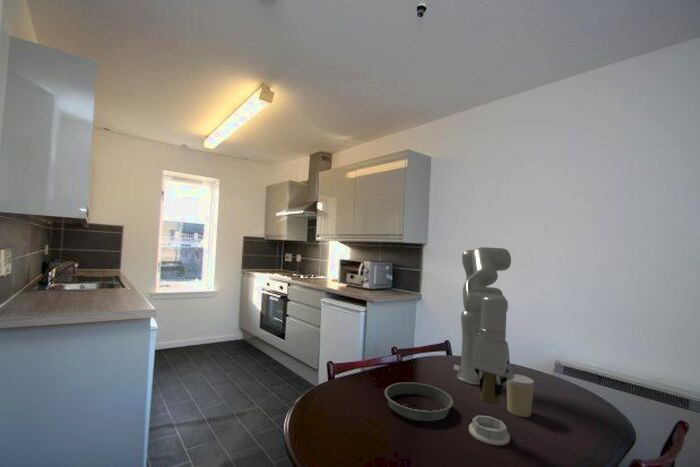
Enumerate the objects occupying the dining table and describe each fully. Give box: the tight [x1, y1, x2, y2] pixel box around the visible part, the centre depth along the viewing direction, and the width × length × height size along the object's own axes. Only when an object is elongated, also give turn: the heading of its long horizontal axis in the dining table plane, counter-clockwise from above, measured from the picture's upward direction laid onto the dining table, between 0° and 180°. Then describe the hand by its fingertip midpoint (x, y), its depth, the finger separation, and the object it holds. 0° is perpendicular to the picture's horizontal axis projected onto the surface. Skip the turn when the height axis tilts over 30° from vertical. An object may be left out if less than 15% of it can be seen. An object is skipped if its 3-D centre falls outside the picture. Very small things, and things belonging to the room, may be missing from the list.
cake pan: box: [384, 381, 454, 421], centre depth 122 cm, size 25×25×4 cm
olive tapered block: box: [479, 371, 502, 406], centre depth 107 cm, size 6×6×11 cm
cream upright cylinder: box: [506, 373, 535, 418], centre depth 123 cm, size 9×9×12 cm
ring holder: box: [468, 414, 511, 447], centre depth 106 cm, size 12×12×4 cm
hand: (490, 392), depth 106 cm, fingers closed on olive tapered block, 3 cm apart
